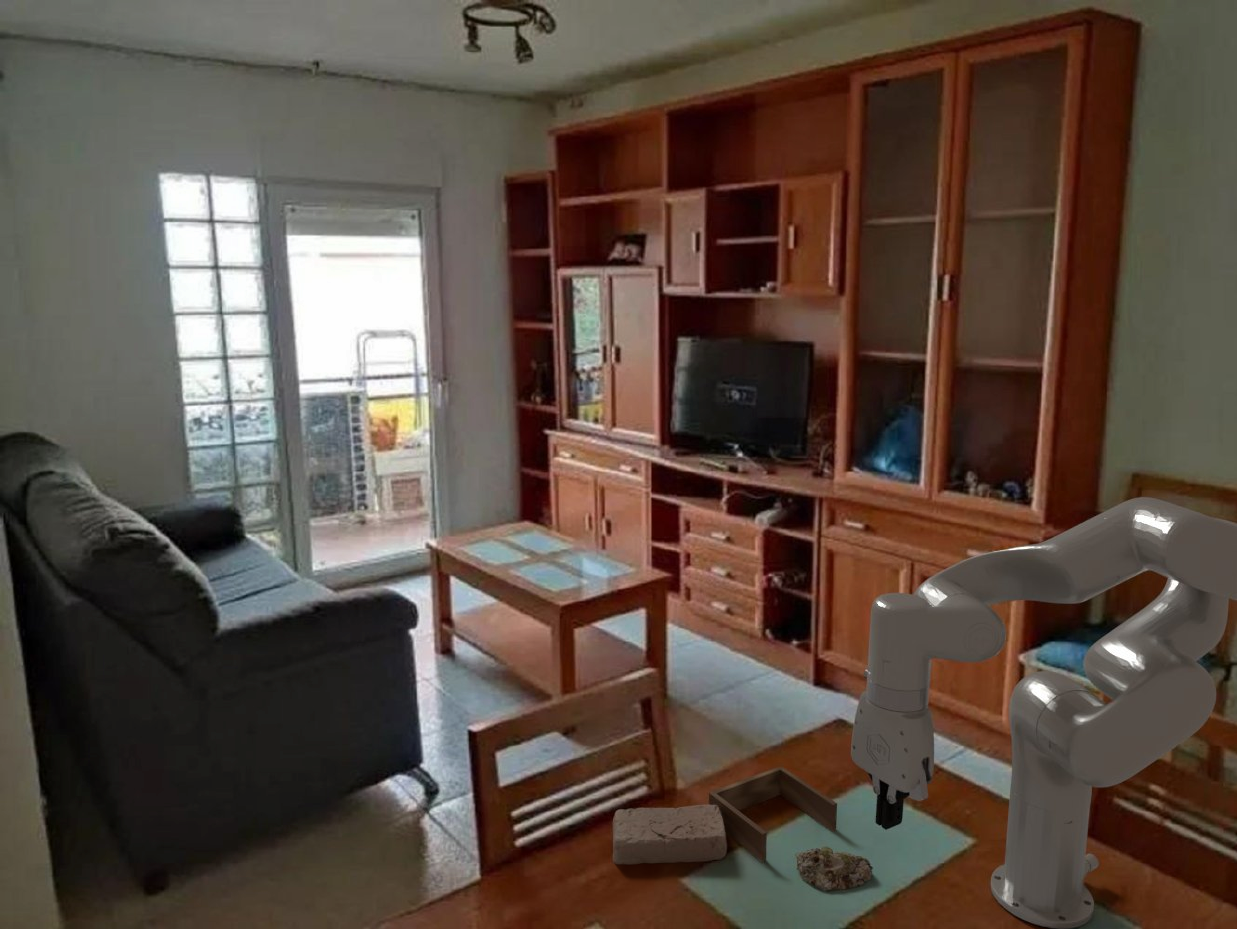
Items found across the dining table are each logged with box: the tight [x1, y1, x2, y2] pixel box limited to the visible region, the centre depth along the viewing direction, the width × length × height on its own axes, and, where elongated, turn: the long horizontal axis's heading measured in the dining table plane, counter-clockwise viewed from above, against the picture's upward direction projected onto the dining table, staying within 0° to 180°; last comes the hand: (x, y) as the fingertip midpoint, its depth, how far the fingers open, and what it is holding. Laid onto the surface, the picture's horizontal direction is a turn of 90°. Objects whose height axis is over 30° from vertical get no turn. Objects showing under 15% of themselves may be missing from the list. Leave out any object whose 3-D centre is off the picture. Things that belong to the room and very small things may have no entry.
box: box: [708, 765, 838, 863], centre depth 139 cm, size 15×13×4 cm
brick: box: [612, 804, 728, 865], centre depth 134 cm, size 17×8×5 cm, turn 92°
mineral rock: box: [795, 845, 874, 892], centre depth 127 cm, size 11×4×8 cm
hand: (888, 823), depth 117 cm, fingers closed
